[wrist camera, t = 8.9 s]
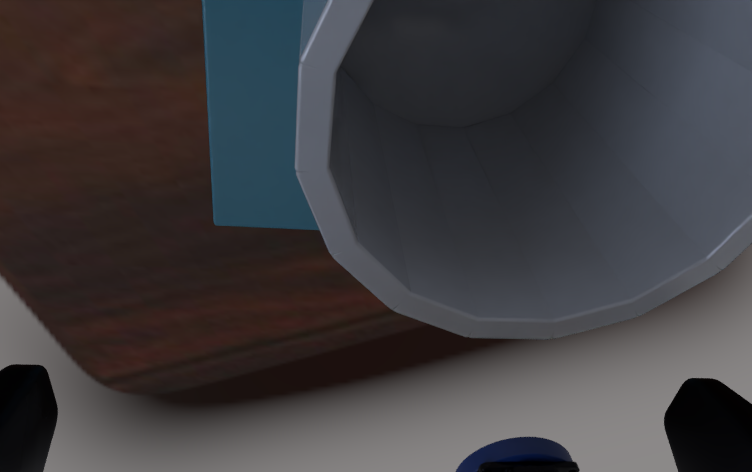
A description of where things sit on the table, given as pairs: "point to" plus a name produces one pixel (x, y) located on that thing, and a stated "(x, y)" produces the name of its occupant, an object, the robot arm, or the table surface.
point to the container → (254, 112)
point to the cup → (527, 154)
